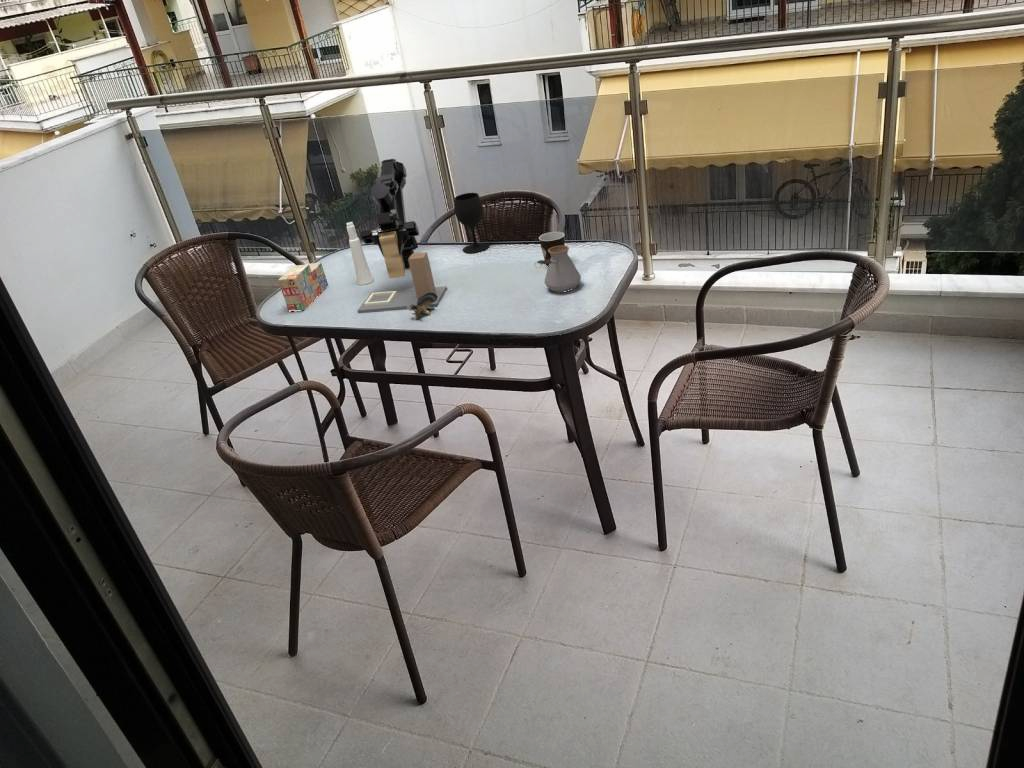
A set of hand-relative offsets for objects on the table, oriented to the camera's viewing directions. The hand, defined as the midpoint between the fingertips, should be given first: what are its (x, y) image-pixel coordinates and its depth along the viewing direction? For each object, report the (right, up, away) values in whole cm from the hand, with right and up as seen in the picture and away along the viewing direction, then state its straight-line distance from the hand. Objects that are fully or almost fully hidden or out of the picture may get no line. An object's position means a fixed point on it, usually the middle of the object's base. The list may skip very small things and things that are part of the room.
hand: (392, 255), depth 252 cm
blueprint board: (+4, -15, +1) cm, 15 cm away
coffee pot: (+54, -15, -15) cm, 58 cm away
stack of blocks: (-32, -13, +17) cm, 38 cm away
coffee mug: (+54, -1, +9) cm, 55 cm away
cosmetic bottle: (-13, -6, +22) cm, 27 cm away
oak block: (+1, -5, +5) cm, 7 cm away
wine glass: (+26, +8, +35) cm, 44 cm away
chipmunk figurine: (+12, -21, -12) cm, 27 cm away
